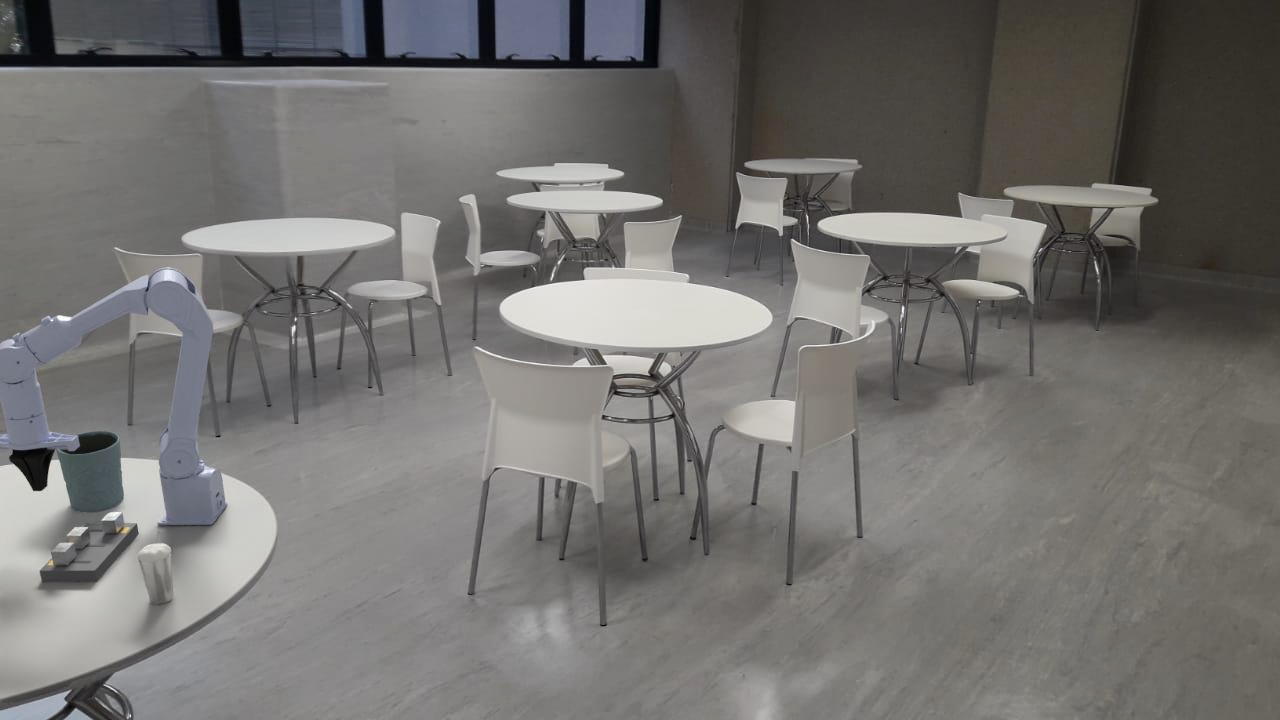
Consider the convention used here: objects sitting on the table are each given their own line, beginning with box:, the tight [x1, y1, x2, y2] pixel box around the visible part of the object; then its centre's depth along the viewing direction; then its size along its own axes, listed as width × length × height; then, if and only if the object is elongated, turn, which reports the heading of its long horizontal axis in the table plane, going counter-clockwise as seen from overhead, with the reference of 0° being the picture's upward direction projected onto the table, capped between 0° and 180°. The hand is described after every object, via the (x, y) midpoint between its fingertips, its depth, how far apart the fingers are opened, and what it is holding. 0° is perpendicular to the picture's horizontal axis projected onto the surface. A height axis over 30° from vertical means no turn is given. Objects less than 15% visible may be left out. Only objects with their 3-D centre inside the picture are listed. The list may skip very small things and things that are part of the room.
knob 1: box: [50, 542, 77, 565], centre depth 157 cm, size 2×3×2 cm
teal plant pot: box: [55, 430, 125, 514], centre depth 179 cm, size 10×10×12 cm
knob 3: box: [100, 511, 125, 533], centre depth 167 cm, size 2×3×2 cm
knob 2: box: [65, 526, 91, 549], centre depth 162 cm, size 2×3×2 cm
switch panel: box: [39, 522, 139, 583], centre depth 163 cm, size 8×15×2 cm, turn 2°
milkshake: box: [137, 531, 175, 605], centre depth 151 cm, size 4×5×10 cm
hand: (40, 488), depth 165 cm, fingers closed
